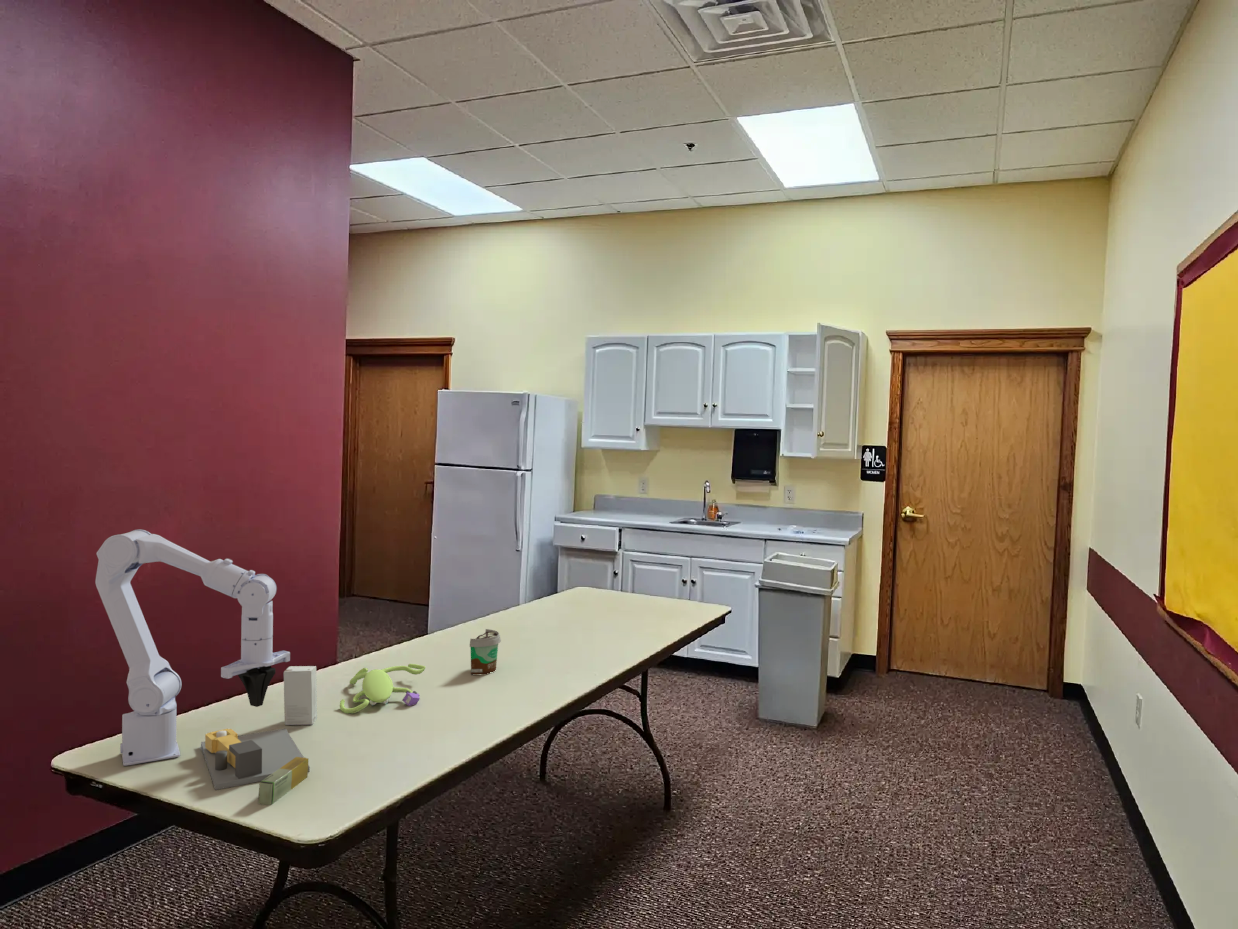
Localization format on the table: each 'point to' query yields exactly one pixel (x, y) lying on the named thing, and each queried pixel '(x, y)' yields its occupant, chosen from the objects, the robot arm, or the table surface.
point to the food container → (484, 652)
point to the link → (222, 743)
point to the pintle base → (251, 758)
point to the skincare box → (300, 695)
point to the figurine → (381, 687)
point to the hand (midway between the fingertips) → (256, 705)
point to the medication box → (282, 781)
